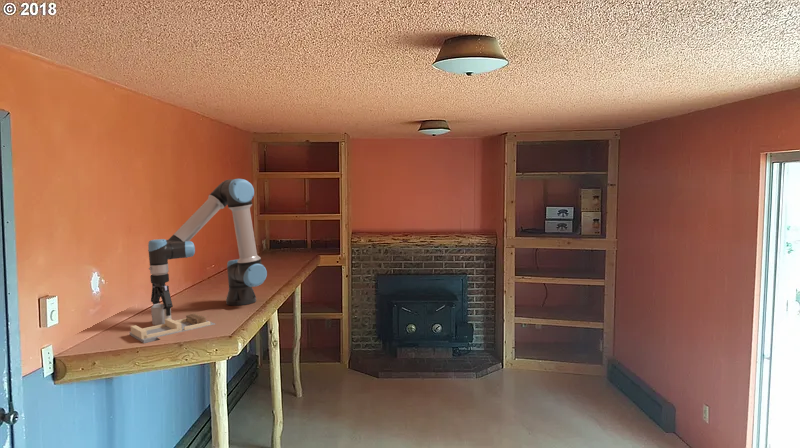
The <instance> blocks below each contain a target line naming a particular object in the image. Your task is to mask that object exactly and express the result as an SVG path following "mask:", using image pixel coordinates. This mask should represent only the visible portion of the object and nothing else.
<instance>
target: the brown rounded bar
mask: <svg viewBox="0 0 800 448" xmlns="http://www.w3.org/2000/svg"><path fill="white" fill-rule="evenodd" d="M185 316H186V317H185V318H186V320H187V322H188V323H191V324H193V325H195V324H199V323H204V322H206V320H207V317H206V316H202V315H200V314H197V313H190V314H186V315H185Z"/></svg>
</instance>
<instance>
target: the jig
mask: <svg viewBox="0 0 800 448" xmlns="http://www.w3.org/2000/svg"><path fill="white" fill-rule="evenodd" d="M213 325H216V323H214V322H212V321H209V320H207V319H206V322H204V323H199V324H195V325H193V324H191V323H188V322H187V320H186V317H185V318H181V319H176V320H174V319H172V318H171V319H170V318H168V319H165V324H161V325H152V326H148V327H144V328H142V327H141V326H138V325H136V324H135V325H130V331H129V335H130V336H131V337H132V338H134V339H135V340H137V341H140V342H141V343H142V344H146V343H151V342H155V341H159V340H161V338H160V337H164V336H169V335H174V334H178V333H182V332H188V331H193V330H195V329H200V328H205V327H210V326H213Z"/></svg>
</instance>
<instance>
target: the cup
mask: <svg viewBox="0 0 800 448" xmlns="http://www.w3.org/2000/svg"><path fill="white" fill-rule="evenodd" d="M163 308H164V304H163V303H160V304H158V305H154V306H153V305H151V307H150V309H151V322H152V323H151V324H152V326H156V325H161V324H165V319H164V309H163Z"/></svg>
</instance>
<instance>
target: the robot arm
mask: <svg viewBox="0 0 800 448" xmlns="http://www.w3.org/2000/svg"><path fill="white" fill-rule="evenodd" d="M253 197H255V189H254V186H253V184H252V183H251V182H249V180H246V179H243V178H234V179H233V178H231V179H230V178H229V179H225V180H224V181H222V182H221V183H219V184H218V186H216V187H215V189H214V190H213V191H211V193H209V194H208V198H207V199H206V201H205V202H204V203H203V204H202V205H201V206H200V207H198V209H196V211H195V212H194V213H193V214H191V216H190V217H189V218H188V219H187V220H186V221H185V222H184V223H183V224H182V225H181V226H180V227H179V228H178V229H177V230H176V231H175V232H174V233H173V234H172V235H171V236H170V237H169V238H168V239H165V238H160V239H159V238H158V239H151V240H149V241H148V243H147V244H148V245H147V246H148V249H147V252H148V259H149V261H148V262H149V268H148V270H149V272H150V273H149V274H150V283H151V285H152V286H151V296H150V302H151V303H152V306H154V305H158V304H161V302H162V304H164V308H163V309H164V319H168V318H170V319H172V310H171V309H172V308H173V306H174V305H173V301H172V298H171V293H170V292H171V291H170V286H169V285H166V284H167V283H169V282H170V275H169V272H170V271H169V261H168V260H176V259H184V258H185V259H187V258H193V257H194V255H195V253H196V246H195V244H194V242H193V241H191V240H192V239H193V238H194V236H196V235H197V234H198V233H199V232H200V230H201V229H203V228H204V226H206V224H207V223H208V222H209V221H211V219H212V218H213V217H214V216H215V215H216V214H217V213H218V212H219V211H220V210H222V209H225V208H226V207H228V209H229V210H230V211H231V213H232V220H233V224H234V225H233V226H234V231H235V238H236V242H237V250H238V255H239V258H237V259H231V260H228V261H227V264H226V265H227V266H226V269H227V278H228V292H227V295H226V298H225V301H226V303H225V304H226V305H227V306H245V305H250V304H254V303H256V302H257V296H256V294H255V291H254V288H253V287H259V286H261V285H263V284H264V282H265V280H266V279H267V276H268V271H267V269H266V267H265V265H264V264H263V263H262V258H261V256H259V255H258V250H257V246H256V245H257V244H256V239H255V233H254V227H253V226H254V225H253V221H252V214H251V208H252V206H253V200H252V199H253ZM160 299H161V301H160Z"/></svg>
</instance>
